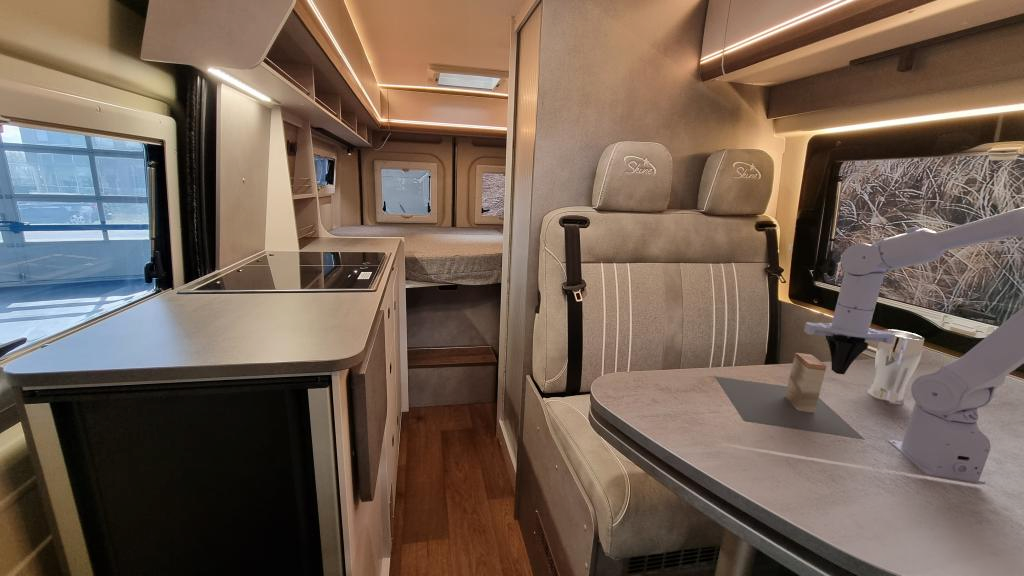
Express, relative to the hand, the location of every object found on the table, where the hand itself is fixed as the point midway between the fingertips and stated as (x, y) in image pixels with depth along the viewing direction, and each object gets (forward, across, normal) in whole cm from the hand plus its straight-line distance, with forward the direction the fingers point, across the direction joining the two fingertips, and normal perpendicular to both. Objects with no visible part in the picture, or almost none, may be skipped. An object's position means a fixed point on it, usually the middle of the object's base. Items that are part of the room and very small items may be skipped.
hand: (837, 372), depth 83 cm
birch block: (+8, +5, 0) cm, 10 cm away
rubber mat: (+8, +9, +1) cm, 13 cm away
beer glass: (+9, -17, -11) cm, 22 cm away
